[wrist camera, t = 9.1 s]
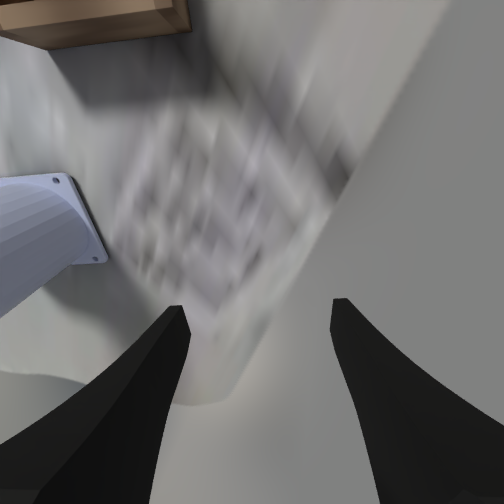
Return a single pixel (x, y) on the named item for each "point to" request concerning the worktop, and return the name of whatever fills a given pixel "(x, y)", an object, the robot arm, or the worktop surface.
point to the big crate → (90, 21)
